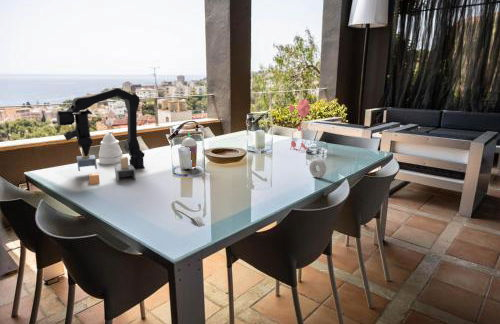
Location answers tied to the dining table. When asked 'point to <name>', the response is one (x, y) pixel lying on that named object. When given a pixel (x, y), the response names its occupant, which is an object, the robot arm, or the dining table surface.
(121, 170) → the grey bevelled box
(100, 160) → the honey pot
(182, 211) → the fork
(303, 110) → the figurine
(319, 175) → the donut
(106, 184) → the dining table surface
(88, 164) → the blue-grey and tan block
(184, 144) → the smoothie
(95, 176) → the letter cube
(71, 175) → the dining table surface
